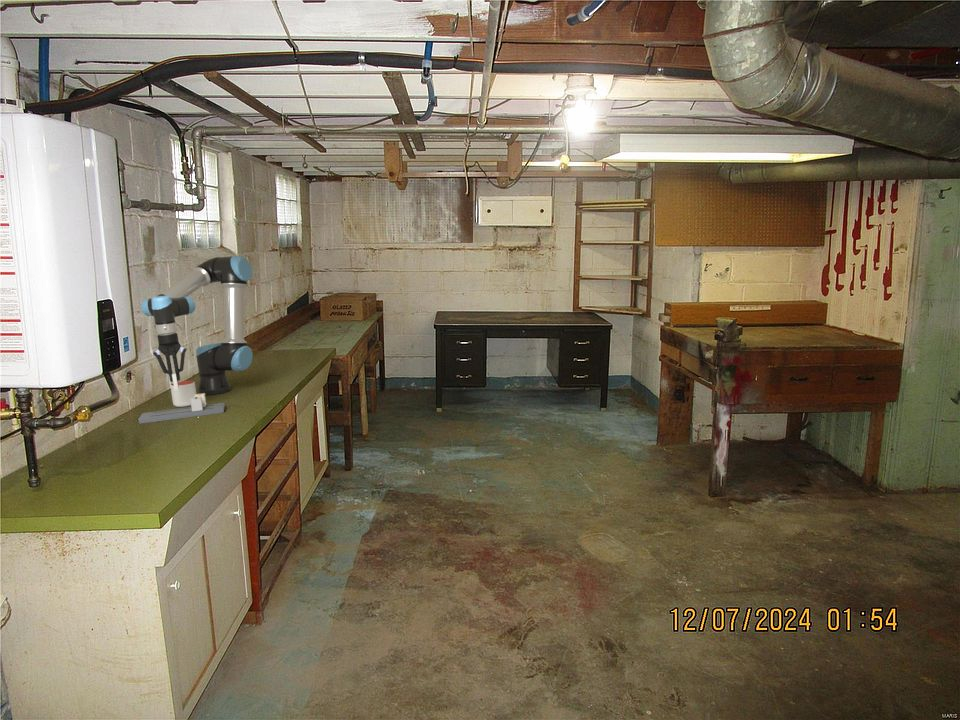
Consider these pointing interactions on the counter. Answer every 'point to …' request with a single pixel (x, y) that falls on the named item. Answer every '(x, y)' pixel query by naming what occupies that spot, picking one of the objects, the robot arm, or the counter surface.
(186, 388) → the cup
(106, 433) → the counter surface
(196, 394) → the fader
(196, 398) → the fader
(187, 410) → the console
